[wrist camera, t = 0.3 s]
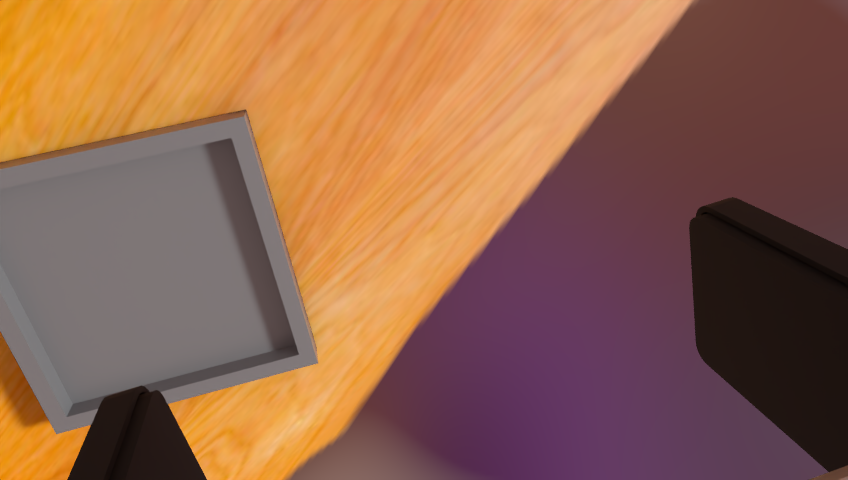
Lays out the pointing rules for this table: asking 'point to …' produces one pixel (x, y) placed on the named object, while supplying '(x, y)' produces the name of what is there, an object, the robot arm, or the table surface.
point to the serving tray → (147, 269)
